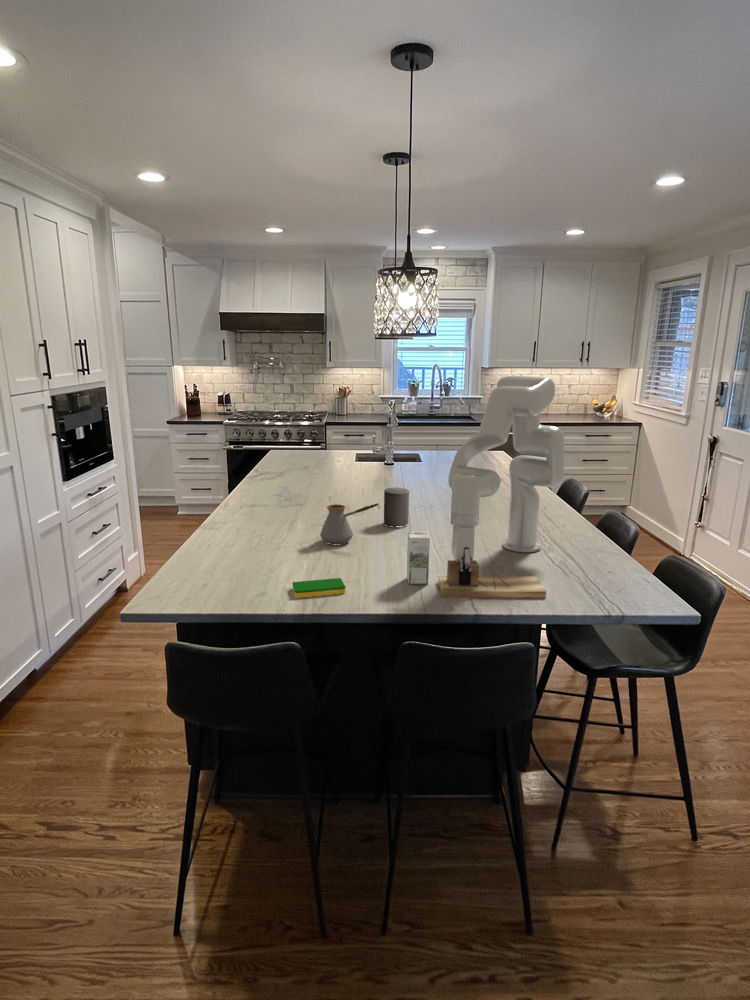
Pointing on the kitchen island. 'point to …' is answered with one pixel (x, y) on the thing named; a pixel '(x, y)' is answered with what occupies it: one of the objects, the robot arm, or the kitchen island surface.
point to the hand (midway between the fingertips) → (462, 578)
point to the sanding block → (453, 574)
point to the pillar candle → (396, 506)
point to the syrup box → (418, 558)
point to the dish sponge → (318, 587)
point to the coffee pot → (339, 524)
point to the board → (495, 587)
